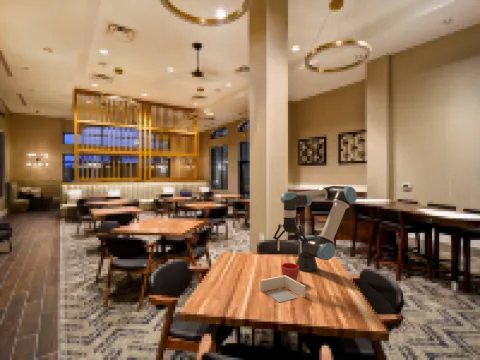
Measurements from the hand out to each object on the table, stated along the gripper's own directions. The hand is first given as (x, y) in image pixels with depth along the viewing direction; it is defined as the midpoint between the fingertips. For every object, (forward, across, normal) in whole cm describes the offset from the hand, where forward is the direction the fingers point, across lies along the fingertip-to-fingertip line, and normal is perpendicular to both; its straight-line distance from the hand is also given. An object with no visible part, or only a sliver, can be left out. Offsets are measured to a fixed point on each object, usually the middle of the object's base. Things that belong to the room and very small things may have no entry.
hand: (289, 251), depth 161 cm
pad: (+18, -2, -22) cm, 28 cm away
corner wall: (+18, -2, -19) cm, 27 cm away
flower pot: (+19, 0, 0) cm, 19 cm away
